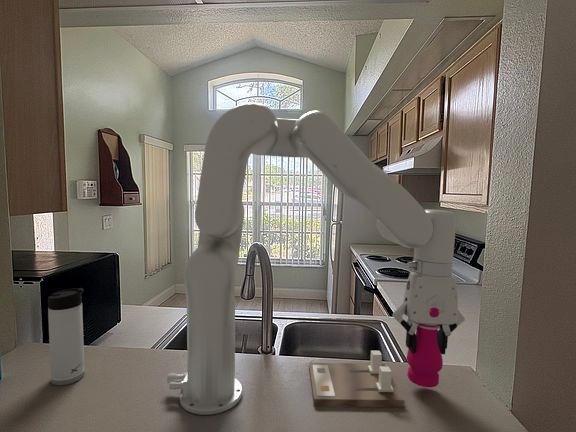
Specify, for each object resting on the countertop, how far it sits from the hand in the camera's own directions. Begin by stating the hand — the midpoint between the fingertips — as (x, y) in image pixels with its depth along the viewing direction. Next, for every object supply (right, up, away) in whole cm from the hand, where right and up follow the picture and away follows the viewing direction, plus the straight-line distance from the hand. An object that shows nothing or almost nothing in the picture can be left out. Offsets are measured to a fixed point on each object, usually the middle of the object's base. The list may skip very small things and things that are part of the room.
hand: (425, 350), depth 73 cm
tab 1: (-10, -7, +5) cm, 13 cm away
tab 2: (-9, -7, -2) cm, 12 cm away
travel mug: (-78, -8, +3) cm, 79 cm away
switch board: (-15, -9, +2) cm, 18 cm away
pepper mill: (0, -7, +1) cm, 7 cm away
